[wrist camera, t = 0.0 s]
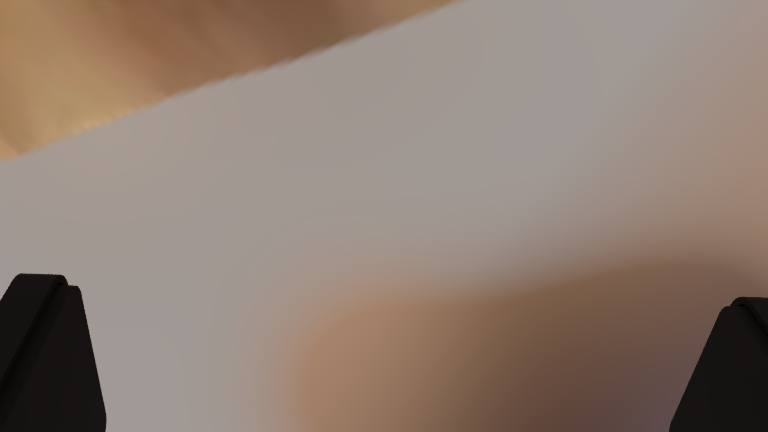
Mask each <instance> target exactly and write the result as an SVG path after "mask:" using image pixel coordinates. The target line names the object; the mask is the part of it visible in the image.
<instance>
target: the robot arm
mask: <svg viewBox="0 0 768 432" xmlns="http://www.w3.org/2000/svg"><path fill="white" fill-rule="evenodd" d="M105 430H106V412H105V406H104V402H103V397H102V392H101V387H100V382H99V378H98V373H97V368H96V363H95V358H94V353H93V348H92V344H91V338H90V334H89V329H88V324H87V319H86V314H85V310H84V305H83V300H82V295H81V291H80V289H79V287H78V286H71V285H68V283H67V280H66V278H65V277H64V276H63V275H52V274H51V275H50V274H22V273H21V274H19V275H17V276H16V277H15V278H14V279H13V281H12V282H11V284H10V286H9V287H8V289H7V290H6V292H5V294H4V295H3V297H2V299H1V300H0V432H105ZM669 432H768V298H762V297H738V298H736V299H735V300H734V301H733V302H732V304H731V305H730V306H726V307H724V308H723V309H722V310H721V312H720V313H719V315H718V318H717V320H716V322H715V325H714V327H713V329H712V331H711V334H710V336H709V338H708V340H707V343H706V345H705V347H704V349H703V352H702V354H701V356H700V358H699V361H698V363H697V365H696V367H695V370H694V372H693V374H692V376H691V379H690V381H689V383H688V385H687V388H686V390H685V392H684V394H683V397H682V399H681V401H680V404H679V406H678V408H677V410H676V412H675V415H674V417H673V419H672V421H671V424H670V429H669Z"/></svg>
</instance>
